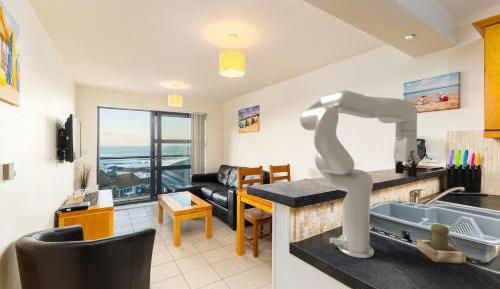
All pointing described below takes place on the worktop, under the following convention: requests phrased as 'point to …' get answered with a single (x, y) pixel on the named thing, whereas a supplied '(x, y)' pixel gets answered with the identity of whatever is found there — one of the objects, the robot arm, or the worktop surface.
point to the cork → (439, 237)
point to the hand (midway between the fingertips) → (405, 175)
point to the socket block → (441, 253)
